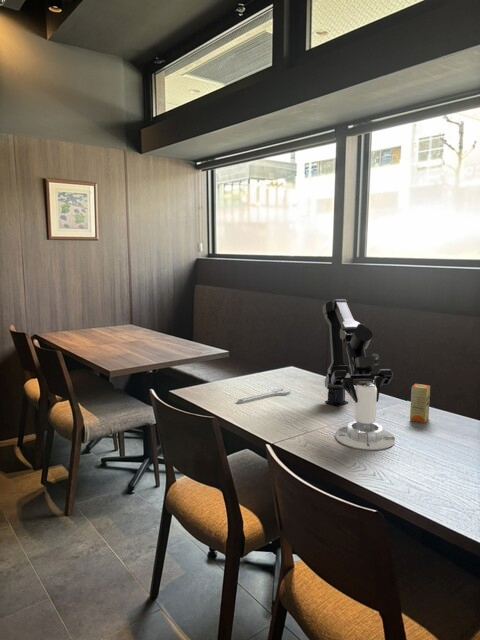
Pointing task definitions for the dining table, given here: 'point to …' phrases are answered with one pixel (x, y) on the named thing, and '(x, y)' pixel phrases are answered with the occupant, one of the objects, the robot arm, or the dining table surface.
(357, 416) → the can
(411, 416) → the shoe polish box
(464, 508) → the dining table surface
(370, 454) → the dining table surface
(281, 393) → the adjustable wrench
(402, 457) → the dining table surface
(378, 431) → the rosette
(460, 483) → the dining table surface
